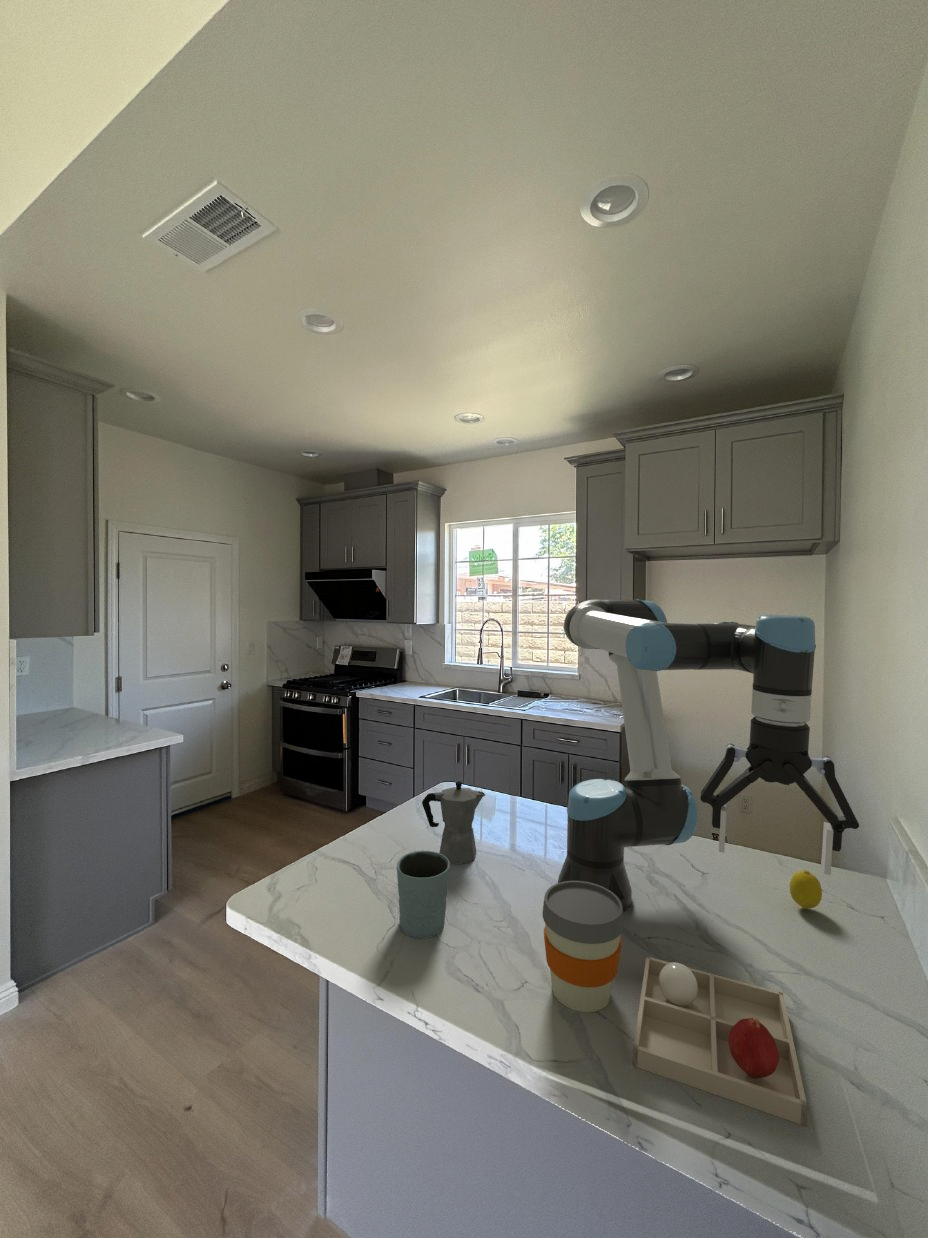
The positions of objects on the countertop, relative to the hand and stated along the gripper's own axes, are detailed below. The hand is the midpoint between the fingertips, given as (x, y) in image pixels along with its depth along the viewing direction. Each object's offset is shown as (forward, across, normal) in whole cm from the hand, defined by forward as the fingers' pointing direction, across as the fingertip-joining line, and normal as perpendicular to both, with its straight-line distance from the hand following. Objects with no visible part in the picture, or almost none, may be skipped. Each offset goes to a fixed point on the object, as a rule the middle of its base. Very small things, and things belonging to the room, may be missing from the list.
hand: (771, 859), depth 80 cm
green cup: (+25, -57, -5) cm, 62 cm away
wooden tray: (+24, -7, -9) cm, 27 cm away
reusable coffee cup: (+24, -26, -9) cm, 37 cm away
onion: (+23, -2, -14) cm, 27 cm away
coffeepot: (+25, -64, +21) cm, 72 cm away
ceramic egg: (+24, -12, -5) cm, 27 cm away
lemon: (+25, +9, +34) cm, 43 cm away
